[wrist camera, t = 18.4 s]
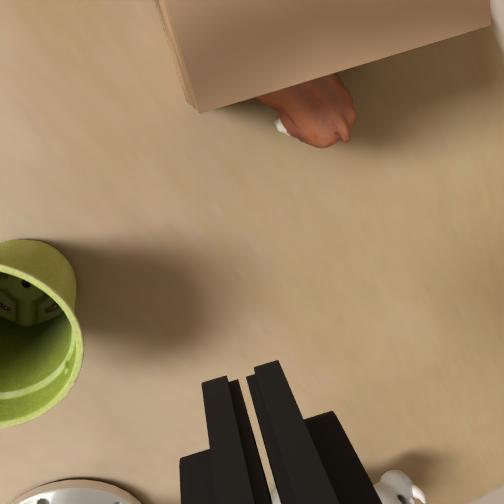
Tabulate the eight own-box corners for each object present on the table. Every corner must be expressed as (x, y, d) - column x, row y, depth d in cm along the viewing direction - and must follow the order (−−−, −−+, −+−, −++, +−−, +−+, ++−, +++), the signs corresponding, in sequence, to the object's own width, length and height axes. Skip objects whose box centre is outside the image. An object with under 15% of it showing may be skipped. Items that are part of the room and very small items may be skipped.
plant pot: (132, 284, 33) (122, 350, 25) (34, 368, 34) (-7, 459, 26) (24, 182, 29) (-29, 221, 21) (-83, 279, 30) (-173, 351, 22)
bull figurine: (213, -87, 26) (235, -156, 19) (334, 118, 31) (390, 128, 24) (150, -38, 27) (147, -88, 19) (280, 158, 31) (318, 181, 24)
